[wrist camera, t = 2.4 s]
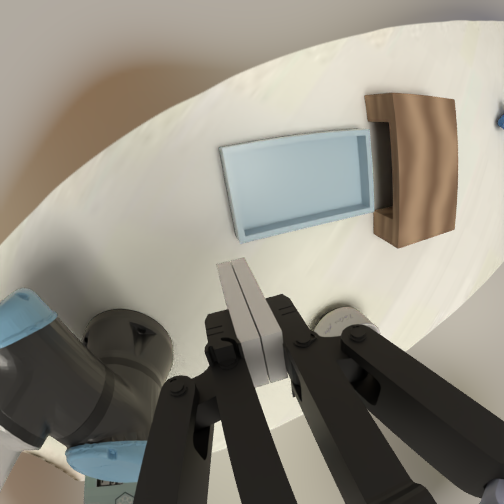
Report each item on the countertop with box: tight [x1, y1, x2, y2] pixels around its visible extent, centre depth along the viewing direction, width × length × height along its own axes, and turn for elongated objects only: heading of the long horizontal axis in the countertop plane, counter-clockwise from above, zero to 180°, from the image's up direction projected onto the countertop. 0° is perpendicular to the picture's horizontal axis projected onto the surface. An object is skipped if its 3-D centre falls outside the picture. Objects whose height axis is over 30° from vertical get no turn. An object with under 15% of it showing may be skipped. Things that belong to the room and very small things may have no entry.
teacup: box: [314, 307, 380, 337], centre depth 47 cm, size 14×11×8 cm
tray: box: [219, 129, 374, 244], centre depth 37 cm, size 20×12×3 cm, turn 100°
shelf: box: [365, 93, 458, 248], centre depth 38 cm, size 14×22×6 cm, turn 10°
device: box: [84, 475, 137, 504], centre depth 38 cm, size 16×8×30 cm, turn 115°
